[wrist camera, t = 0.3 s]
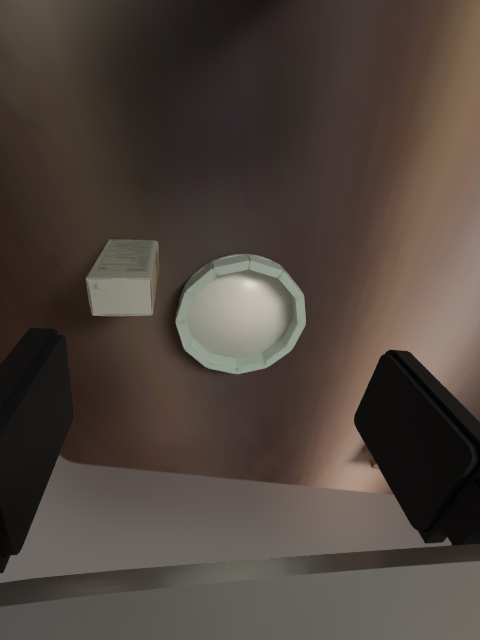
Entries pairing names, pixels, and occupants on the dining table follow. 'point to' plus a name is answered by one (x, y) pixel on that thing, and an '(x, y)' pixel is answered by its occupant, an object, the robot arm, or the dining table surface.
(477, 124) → the dining table surface
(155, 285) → the skincare box
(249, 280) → the round tray
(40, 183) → the dining table surface
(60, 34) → the dining table surface
